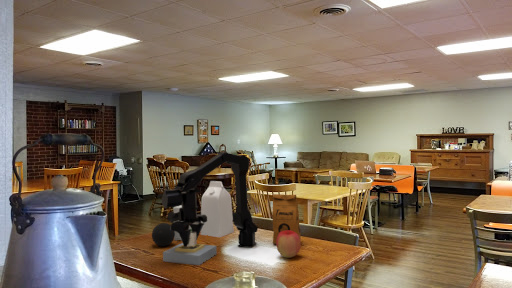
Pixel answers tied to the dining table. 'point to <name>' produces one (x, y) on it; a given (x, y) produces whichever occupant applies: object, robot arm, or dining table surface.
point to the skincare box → (175, 210)
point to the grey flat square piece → (189, 254)
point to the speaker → (163, 234)
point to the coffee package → (285, 215)
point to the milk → (217, 211)
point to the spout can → (191, 241)
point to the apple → (288, 243)
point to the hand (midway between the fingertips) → (190, 243)
